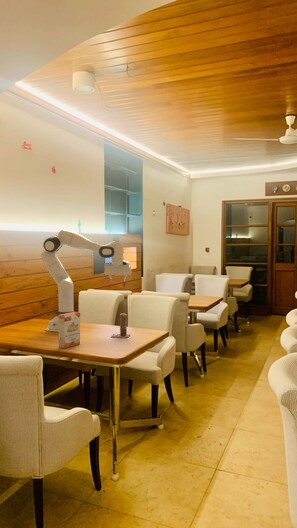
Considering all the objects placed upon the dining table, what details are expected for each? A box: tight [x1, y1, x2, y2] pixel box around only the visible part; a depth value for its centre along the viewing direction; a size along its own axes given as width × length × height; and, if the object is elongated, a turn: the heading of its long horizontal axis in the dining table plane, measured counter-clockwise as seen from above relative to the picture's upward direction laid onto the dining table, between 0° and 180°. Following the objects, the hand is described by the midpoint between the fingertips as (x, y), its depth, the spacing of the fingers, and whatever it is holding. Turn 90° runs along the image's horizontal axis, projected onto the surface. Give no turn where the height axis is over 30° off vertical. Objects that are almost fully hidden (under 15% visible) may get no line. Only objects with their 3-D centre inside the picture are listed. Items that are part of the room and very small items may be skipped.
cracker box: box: [58, 311, 81, 350], centre depth 248 cm, size 14×6×21 cm, turn 146°
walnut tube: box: [119, 313, 128, 336], centre depth 273 cm, size 5×5×15 cm
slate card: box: [110, 333, 131, 339], centre depth 274 cm, size 12×8×1 cm, turn 80°
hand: (117, 281), depth 289 cm, fingers open, 8 cm apart
